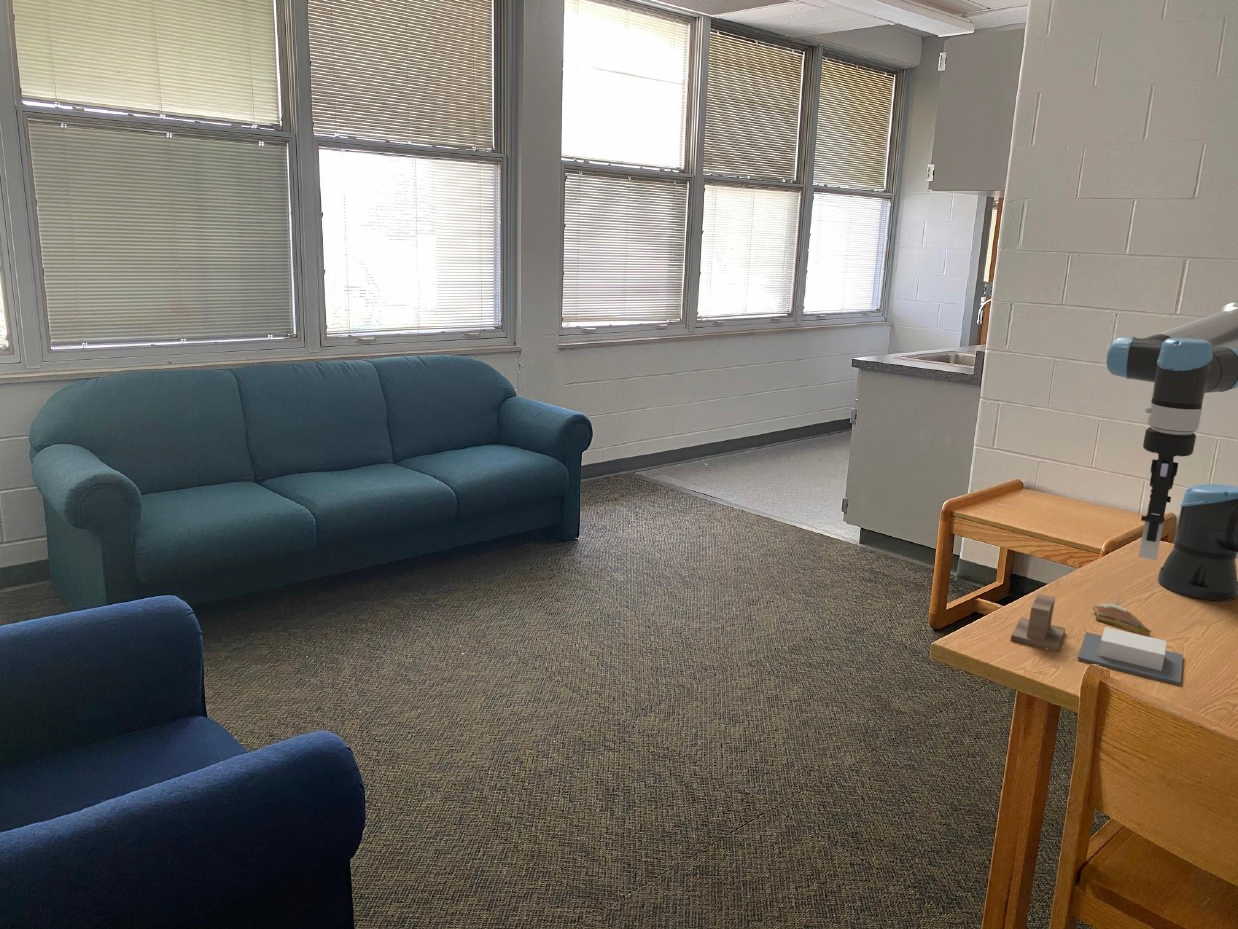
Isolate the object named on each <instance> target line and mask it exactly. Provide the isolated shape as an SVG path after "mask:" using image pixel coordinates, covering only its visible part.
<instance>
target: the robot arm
mask: <svg viewBox="0 0 1238 929" xmlns="http://www.w3.org/2000/svg"><path fill="white" fill-rule="evenodd" d="M1105 364H1106V367H1107V370H1108V371H1109V373H1110V374H1112V375H1113V376H1117V377H1120V378H1121V377H1122V378H1125V379H1127V380H1130V379H1131V380H1137V381H1142V382H1143V381H1144V382H1149V383H1154V385H1153V391H1152V396H1151V400H1150V402H1151V404H1150V407H1146V408H1145V413H1146V414H1149V415H1148V417H1147V419H1148V420H1147V425H1148V426H1149V427H1147V428H1146V429H1145V434H1144V437H1143V438H1144V439H1143V444H1142V447H1143V449H1144V450H1145V451H1147V452H1149V453H1151V454H1153V453H1154V454H1157V456H1158V457H1157V459H1155V458H1154V459H1153V458H1152V461H1151V466H1150V480H1149V486H1150V487H1151V489H1150V495H1149V500H1148V505H1147V511H1146V515H1141V519H1140V521H1142V522H1144V526H1143V530H1142V536H1141V542H1140V547H1139V553H1138V557H1139V558H1143V559H1144V558H1145V559H1150V560H1154V561H1155V560H1156V561H1158V560H1157V558H1158V553H1159V548H1160V543H1161V538H1162V534H1163V533H1162V532H1163V529H1164V528H1163V527H1164V523H1165V513H1166V509H1167V503H1171V500H1172V496H1169V491H1170V490H1172V489H1173V486H1174V481H1175V477H1176V476H1177V473H1178V469H1179V468H1178V467H1179V462H1175V461H1174V458H1175V457H1188V456H1189V457H1190V456H1191V455H1193V453H1194V450H1195V444H1196V439H1197V435H1196V433H1194V432H1196V431H1198V430H1199V425H1200V420H1201V416H1202V409H1203V402H1204V398H1205V393H1206V394H1209V393H1216V392H1220V393H1223V392H1224V393H1225V392H1227V391H1230V390H1233V389H1237V388H1238V300H1236V301H1233V302H1231V303H1228V304H1226V305H1224V306H1223V307H1222V308H1220V309H1219V311H1218V312H1216V313H1214V314H1211V315H1209V316H1205V317H1203V318H1200V319H1197V320H1194V321H1191V322H1189V323H1185V324H1182V325H1179V326H1176V327H1173V328H1171V329H1167V330H1165V331H1162V332H1159V333H1156V334H1153V335H1149V336H1147V337H1143V338H1141V337H1140V338H1139V337H1135V336H1120V337H1118V338H1116V339H1115V340H1114V341H1113V342H1112V343H1111V344H1110V346H1109V347H1108V350H1107V353H1106V362H1105ZM1179 512H1180V513H1179V519H1178V522H1177V528H1176V534H1175V538H1174V543H1173V548H1172V550H1171V551H1170V553H1169V555H1168V556H1167V558H1166V560H1165V562H1164V563H1163V565H1162V567H1160V569H1159V571H1158V576H1157V582H1158V583H1159V584H1160V585H1161V586H1163V587H1164V588H1166V589H1168V590H1170V591H1172V592H1174V593H1178V594H1182V595H1184V596H1188V597H1192V598H1195V599H1201V600H1207V601H1218V600H1225V601H1230V600H1229V599H1232V600H1235V599H1236V598H1235V597H1237V598H1238V572H1237V563H1236V560H1237V559H1236V558H1237V554H1238V486H1237V485H1229V484H1214V483H1213V484H1210V483H1209V484H1195V485H1192V486H1190V487H1189V486H1188V488H1187V489H1186V490H1185V492H1184V495H1183V499H1182V503H1181V504H1180V511H1179ZM1234 598H1235V599H1234Z"/></svg>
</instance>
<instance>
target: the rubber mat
mask: <svg viewBox="0 0 1238 929" xmlns="http://www.w3.org/2000/svg"><path fill="white" fill-rule="evenodd" d="M1101 638H1102V635H1101V634H1096V633H1092V632H1088V631H1086V632H1085V635H1084V637H1083V640H1082V644H1081V647H1080V650H1079V653H1078V657H1077V659H1079V660H1082V661H1081V662H1083V661H1086V662H1085V663H1087V662H1089V663H1088V664H1091V663H1093V664H1092V665H1095V664H1099V665H1100V667H1103V666H1104V668H1107V667H1108V668H1107V669H1112V670H1115V671H1116V670H1117V671H1119V672H1124V673H1128V674H1132V675H1136V676H1140V677H1144V678H1149V679H1153V680H1157V681H1160V682H1165V683H1167V684H1173V685H1175V686H1181V684H1182V673H1183V660H1184V654H1181V653H1177V652H1174V651H1169V650H1165V656H1164V661H1163V666H1162V671H1160V670H1156V669H1152V668H1148V667H1144V666H1140V665H1136V664H1132V663H1128V662H1123V661H1119V660H1115V659H1111V658H1107V657H1103V656H1099V655H1098V654H1099V648H1100V643H1101ZM1079 660H1078V661H1079ZM1099 665H1098V666H1099Z"/></svg>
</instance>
